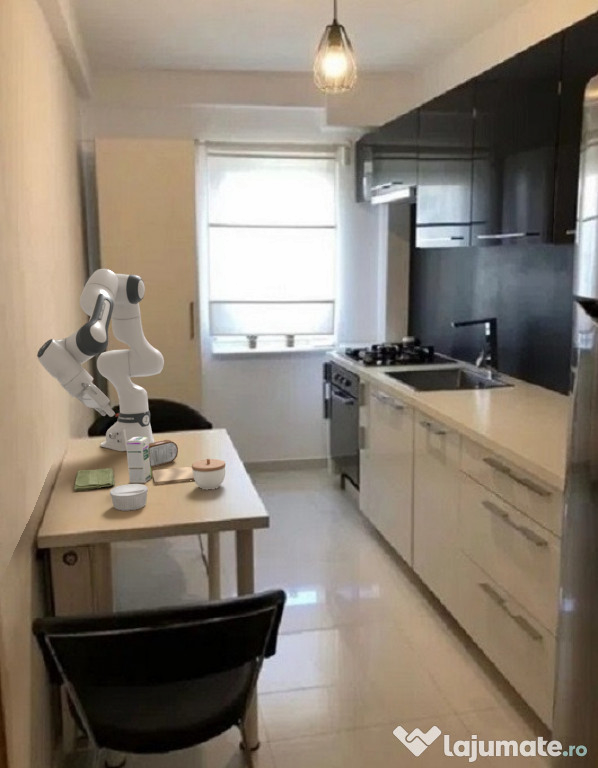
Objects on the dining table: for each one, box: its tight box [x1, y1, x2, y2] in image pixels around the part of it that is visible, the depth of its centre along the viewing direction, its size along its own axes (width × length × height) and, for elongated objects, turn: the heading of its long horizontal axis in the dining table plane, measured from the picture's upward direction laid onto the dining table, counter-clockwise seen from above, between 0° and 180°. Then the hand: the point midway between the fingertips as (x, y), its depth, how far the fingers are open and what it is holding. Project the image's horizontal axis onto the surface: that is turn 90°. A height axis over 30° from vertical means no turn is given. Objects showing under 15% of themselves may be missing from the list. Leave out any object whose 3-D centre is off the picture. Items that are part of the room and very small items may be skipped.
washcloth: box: [73, 468, 116, 492], centre depth 241 cm, size 13×18×3 cm
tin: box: [149, 439, 179, 468], centre depth 259 cm, size 15×3×8 cm, turn 134°
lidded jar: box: [191, 457, 226, 491], centre depth 231 cm, size 11×11×9 cm
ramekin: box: [109, 483, 149, 512], centre depth 215 cm, size 11×11×5 cm
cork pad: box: [151, 465, 194, 486], centre depth 244 cm, size 14×14×1 cm
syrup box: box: [126, 437, 153, 484], centre depth 240 cm, size 6×6×14 cm
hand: (109, 414), depth 233 cm, fingers open, 8 cm apart
